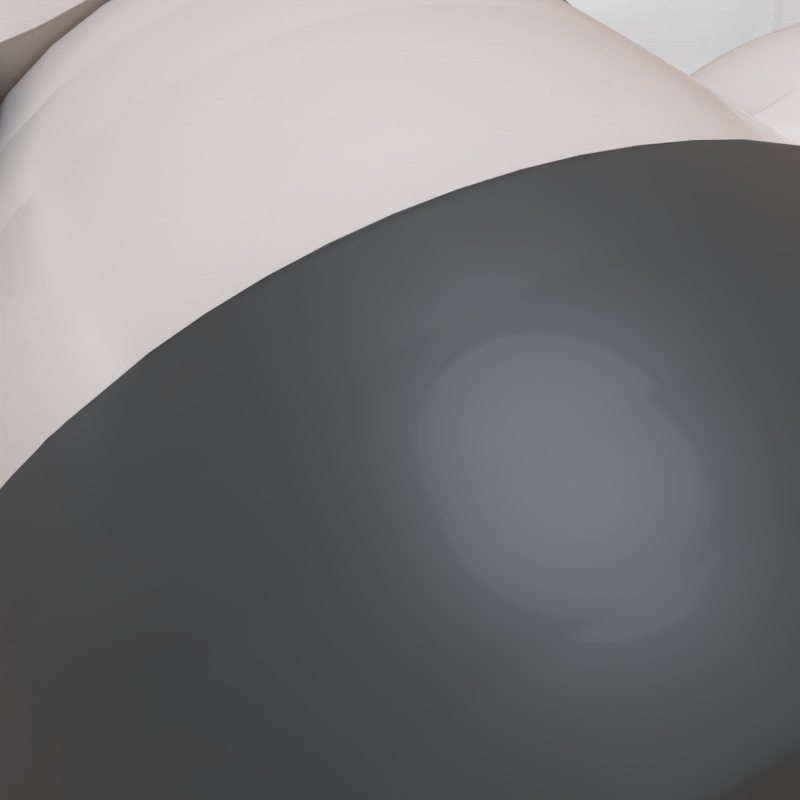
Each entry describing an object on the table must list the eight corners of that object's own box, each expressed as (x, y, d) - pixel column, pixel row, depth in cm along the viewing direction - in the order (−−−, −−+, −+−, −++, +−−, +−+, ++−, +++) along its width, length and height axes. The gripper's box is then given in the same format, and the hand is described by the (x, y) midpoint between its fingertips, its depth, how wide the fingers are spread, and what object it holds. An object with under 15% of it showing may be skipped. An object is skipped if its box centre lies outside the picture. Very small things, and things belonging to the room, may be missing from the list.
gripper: (830, 547, 52) (651, 453, 61) (660, 756, 42) (472, 608, 50) (806, 605, 56) (640, 509, 65) (645, 810, 46) (473, 664, 54)
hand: (565, 554), depth 57 cm, fingers closed on toy figure, 6 cm apart
